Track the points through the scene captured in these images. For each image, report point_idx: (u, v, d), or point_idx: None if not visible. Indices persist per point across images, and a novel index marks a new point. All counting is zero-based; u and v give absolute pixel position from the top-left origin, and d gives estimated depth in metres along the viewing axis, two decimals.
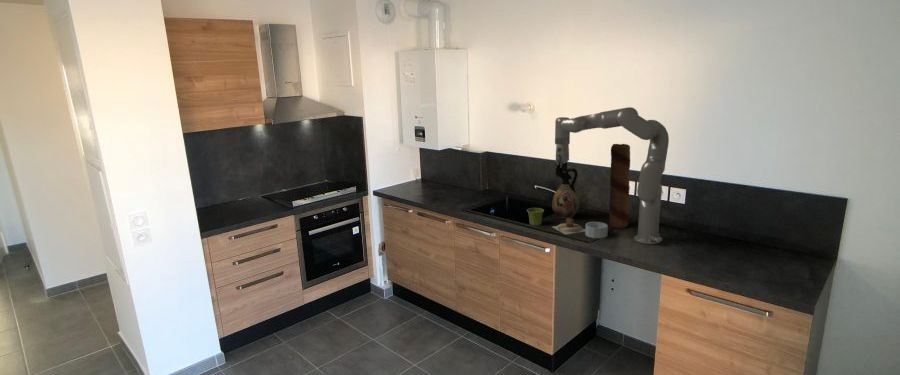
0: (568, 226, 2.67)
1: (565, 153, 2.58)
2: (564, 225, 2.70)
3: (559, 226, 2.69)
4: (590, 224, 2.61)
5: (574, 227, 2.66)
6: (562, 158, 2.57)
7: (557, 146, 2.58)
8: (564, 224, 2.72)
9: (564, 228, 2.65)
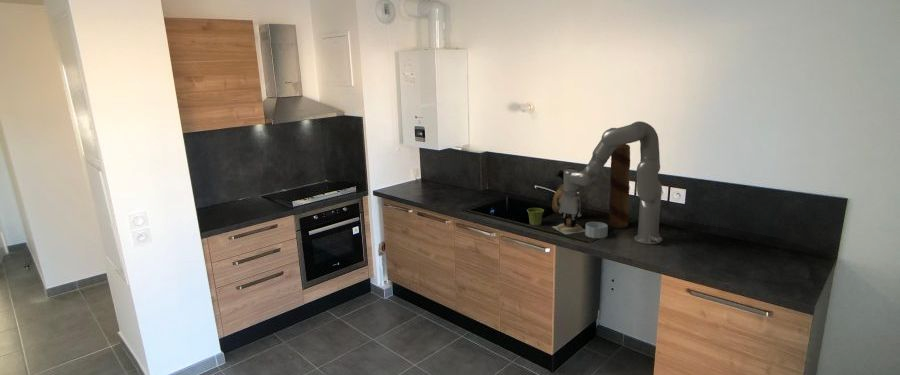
0: (568, 226, 2.67)
1: None
2: None
3: (559, 226, 2.69)
4: (590, 224, 2.61)
5: (574, 227, 2.66)
6: (580, 208, 2.63)
7: (576, 198, 2.60)
8: None
9: (564, 228, 2.65)
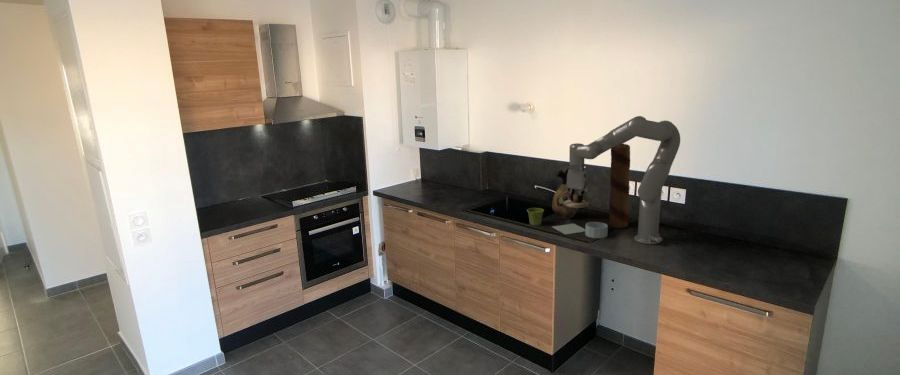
0: (575, 202, 2.61)
1: None
2: None
3: (566, 202, 2.63)
4: (590, 224, 2.61)
5: (581, 203, 2.60)
6: None
7: (582, 172, 2.55)
8: None
9: (571, 204, 2.60)
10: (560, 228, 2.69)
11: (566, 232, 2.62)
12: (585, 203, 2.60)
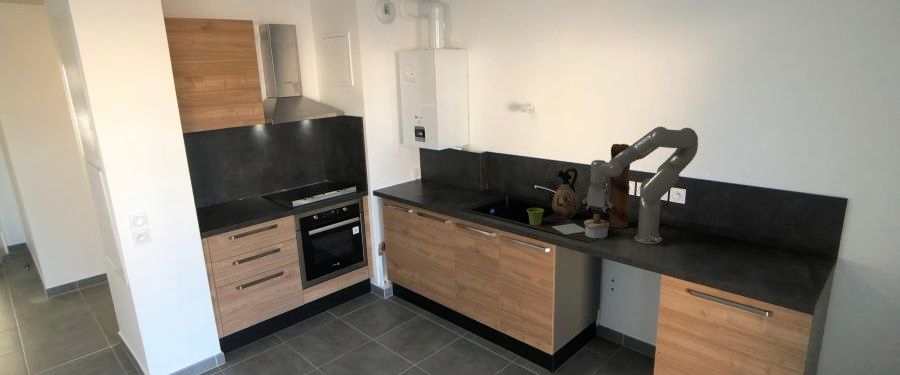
0: (595, 222, 2.55)
1: None
2: (591, 221, 2.58)
3: (586, 222, 2.57)
4: None
5: (602, 224, 2.54)
6: None
7: (604, 190, 2.48)
8: (590, 220, 2.60)
9: (591, 224, 2.53)
10: (560, 228, 2.69)
11: (566, 232, 2.62)
12: (606, 224, 2.53)
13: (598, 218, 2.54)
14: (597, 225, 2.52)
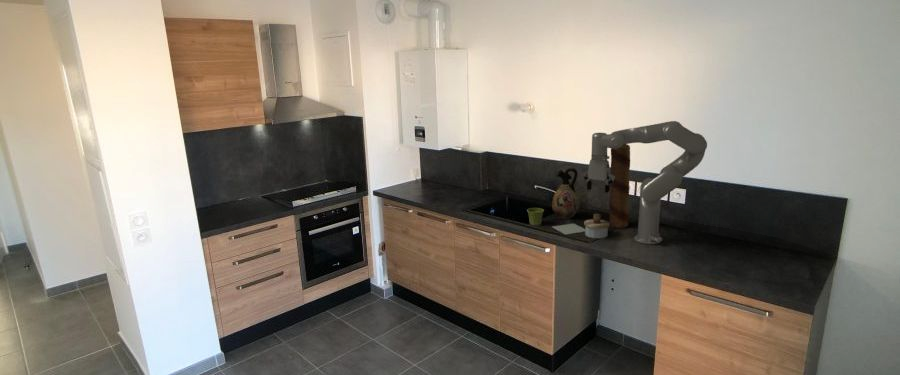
0: (595, 222, 2.55)
1: None
2: (591, 221, 2.58)
3: (586, 222, 2.57)
4: None
5: (602, 224, 2.54)
6: None
7: (605, 163, 2.45)
8: (590, 220, 2.60)
9: (591, 224, 2.53)
10: (560, 228, 2.69)
11: (566, 232, 2.62)
12: (606, 224, 2.53)
13: (598, 218, 2.54)
14: (597, 225, 2.52)
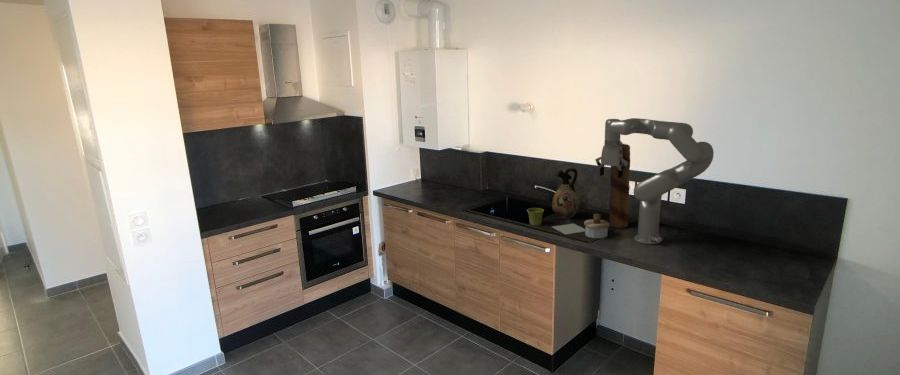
0: (595, 222, 2.55)
1: None
2: (591, 221, 2.58)
3: (586, 222, 2.57)
4: None
5: (602, 224, 2.54)
6: None
7: (618, 148, 2.48)
8: (590, 220, 2.60)
9: (591, 224, 2.53)
10: (560, 228, 2.69)
11: (566, 232, 2.62)
12: (606, 224, 2.53)
13: (598, 218, 2.54)
14: (597, 225, 2.52)
